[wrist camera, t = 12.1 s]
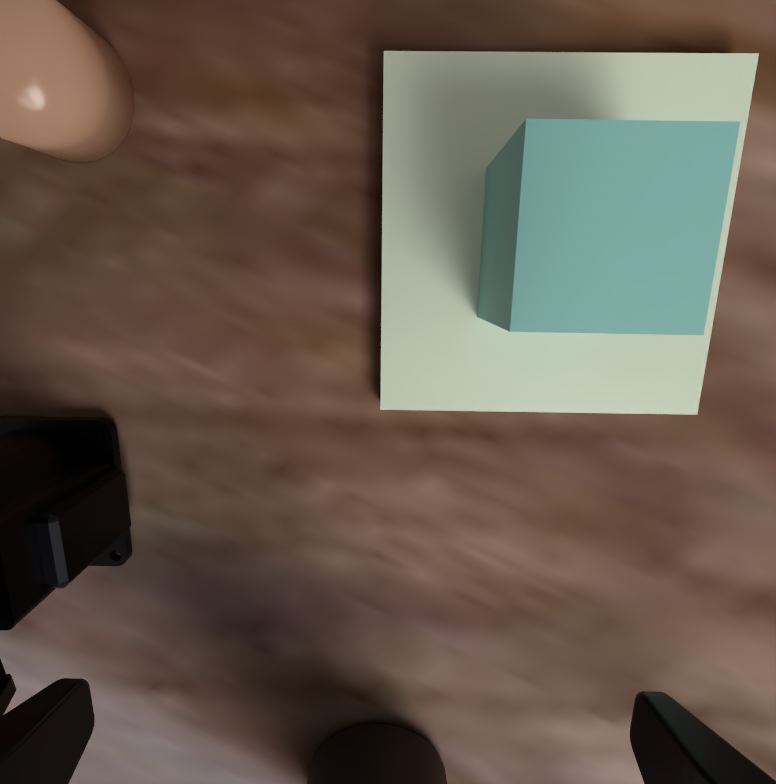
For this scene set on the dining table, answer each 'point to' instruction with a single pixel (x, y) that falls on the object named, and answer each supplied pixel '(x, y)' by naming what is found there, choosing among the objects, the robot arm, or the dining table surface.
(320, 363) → the dining table surface
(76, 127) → the terracotta cylinder
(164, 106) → the dining table surface
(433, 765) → the dark water bottle
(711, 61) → the sage pad
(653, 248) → the teal block
